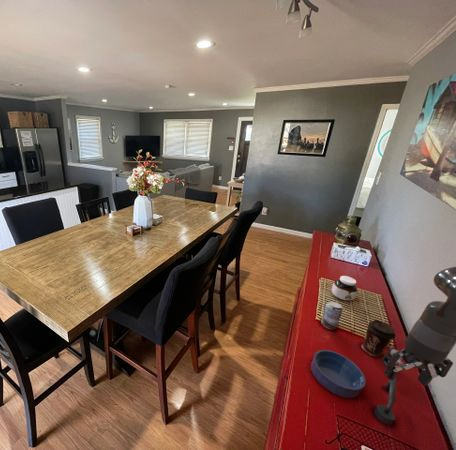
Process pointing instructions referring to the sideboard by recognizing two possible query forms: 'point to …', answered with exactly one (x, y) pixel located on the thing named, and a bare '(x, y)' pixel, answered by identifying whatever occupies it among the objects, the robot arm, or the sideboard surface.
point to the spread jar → (344, 288)
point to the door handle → (385, 412)
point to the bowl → (337, 374)
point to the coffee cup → (377, 337)
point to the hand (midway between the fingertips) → (405, 379)
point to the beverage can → (331, 315)
